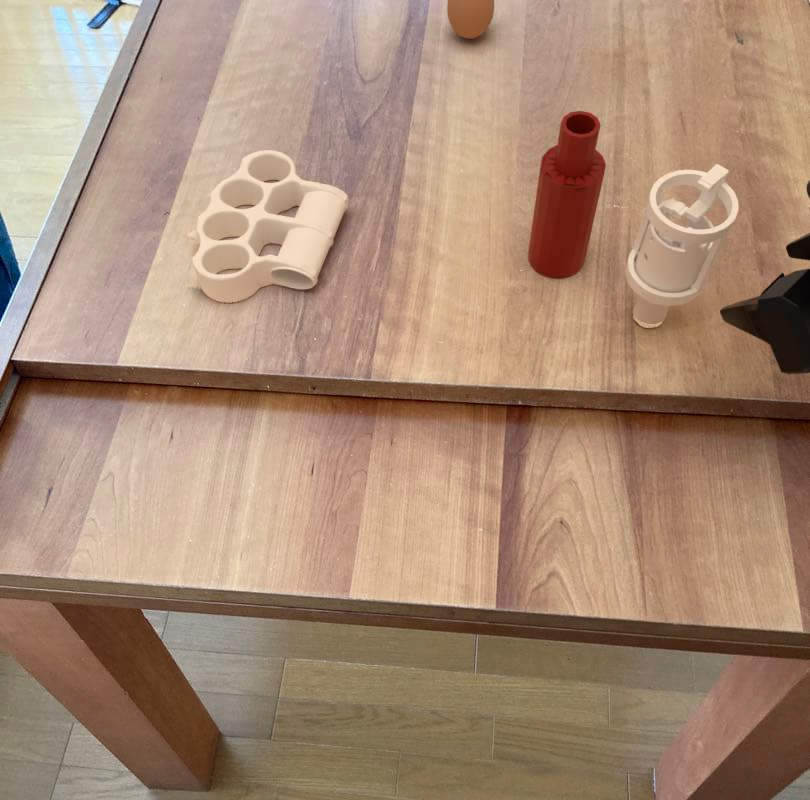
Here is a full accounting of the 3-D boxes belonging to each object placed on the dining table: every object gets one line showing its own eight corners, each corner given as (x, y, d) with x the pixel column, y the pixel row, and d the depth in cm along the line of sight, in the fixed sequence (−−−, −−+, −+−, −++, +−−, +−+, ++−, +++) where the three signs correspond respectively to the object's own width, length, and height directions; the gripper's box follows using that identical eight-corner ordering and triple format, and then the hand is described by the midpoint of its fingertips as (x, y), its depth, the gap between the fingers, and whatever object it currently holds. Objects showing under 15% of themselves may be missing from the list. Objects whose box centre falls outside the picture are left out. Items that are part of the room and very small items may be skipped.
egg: (454, 53, 96) (456, -8, 90) (441, 26, 98) (441, -36, 92) (498, 44, 96) (503, -18, 90) (483, 17, 99) (487, -46, 92)
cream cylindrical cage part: (700, 314, 78) (761, 187, 65) (657, 358, 76) (710, 236, 63) (640, 275, 80) (687, 145, 67) (596, 317, 78) (635, 191, 65)
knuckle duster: (306, 319, 79) (167, 292, 81) (359, 190, 87) (230, 168, 89) (301, 295, 76) (156, 267, 78) (356, 163, 84) (223, 141, 86)
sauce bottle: (576, 232, 83) (604, 97, 70) (590, 274, 81) (622, 141, 67) (522, 240, 83) (540, 106, 69) (535, 282, 81) (556, 151, 67)
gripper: (1004, 54, 52) (787, 129, 66) (845, 212, 47) (644, 257, 60) (1041, 213, 57) (831, 252, 70) (900, 373, 51) (701, 382, 65)
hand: (756, 282), depth 66 cm, fingers open, 9 cm apart
